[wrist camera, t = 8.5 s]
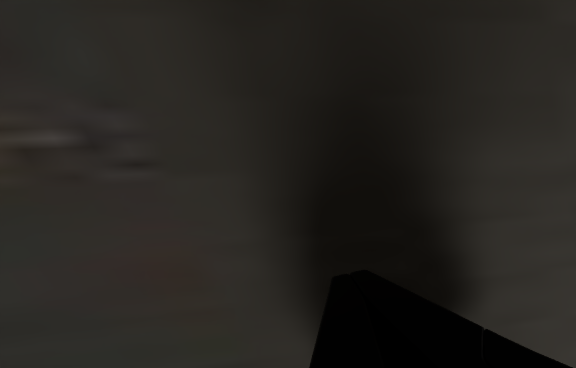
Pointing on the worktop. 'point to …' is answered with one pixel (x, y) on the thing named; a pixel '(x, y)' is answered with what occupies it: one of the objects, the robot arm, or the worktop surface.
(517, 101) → the worktop surface
